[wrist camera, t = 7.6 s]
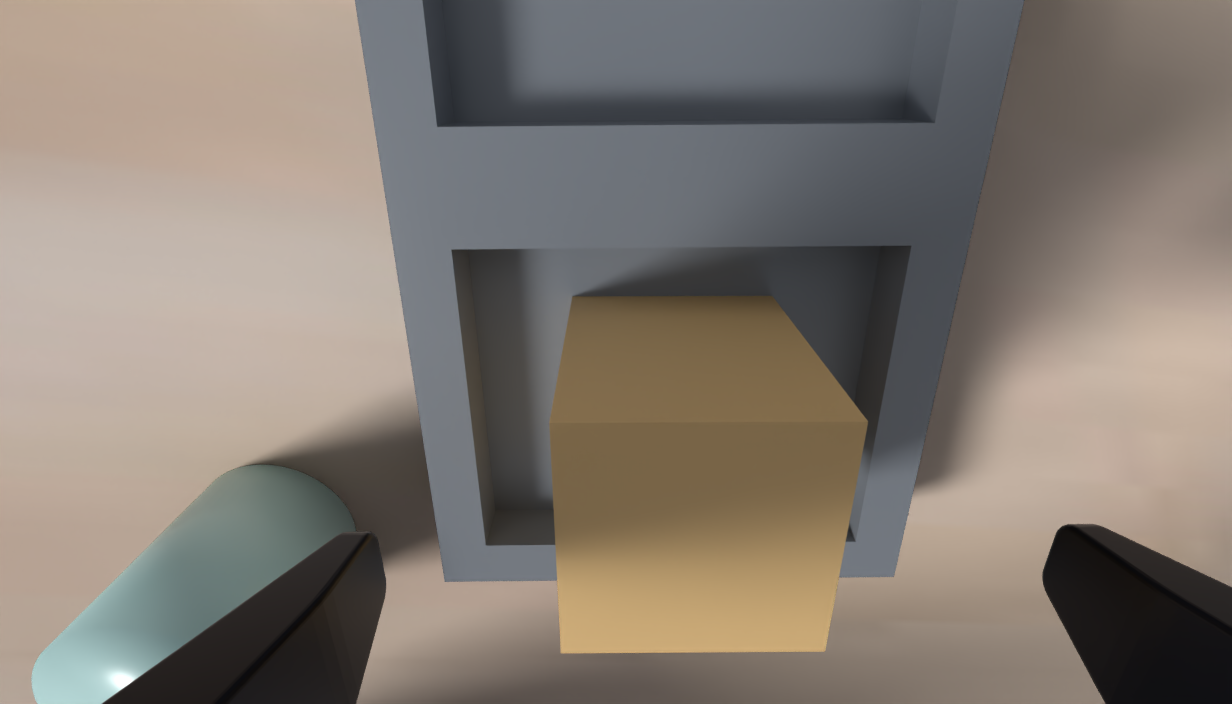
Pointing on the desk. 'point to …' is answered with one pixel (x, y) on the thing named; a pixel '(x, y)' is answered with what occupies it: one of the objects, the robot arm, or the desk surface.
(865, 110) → the organizer
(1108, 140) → the desk surface
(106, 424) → the desk surface
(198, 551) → the teal capsule
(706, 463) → the ochre block
